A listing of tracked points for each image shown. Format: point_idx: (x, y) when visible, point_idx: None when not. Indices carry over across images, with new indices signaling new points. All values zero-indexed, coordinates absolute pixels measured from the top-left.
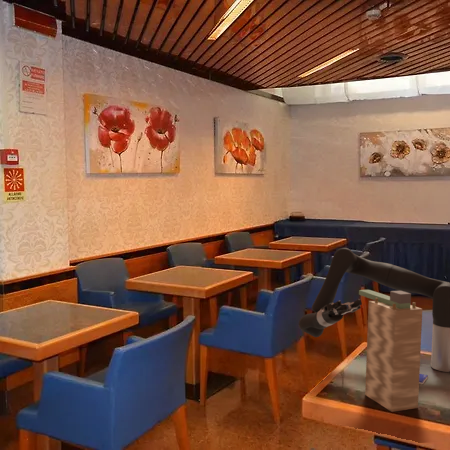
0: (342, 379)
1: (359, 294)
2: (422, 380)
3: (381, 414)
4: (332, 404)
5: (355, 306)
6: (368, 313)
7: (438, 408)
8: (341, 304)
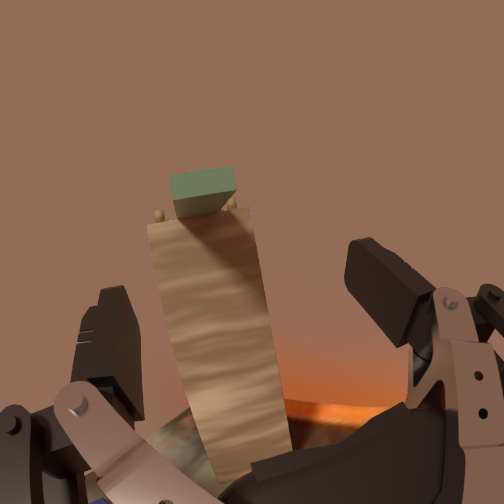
0: None
1: (235, 189)
2: (98, 501)
3: (288, 406)
4: (376, 413)
5: (141, 404)
6: (256, 248)
7: (173, 427)
8: (346, 272)
